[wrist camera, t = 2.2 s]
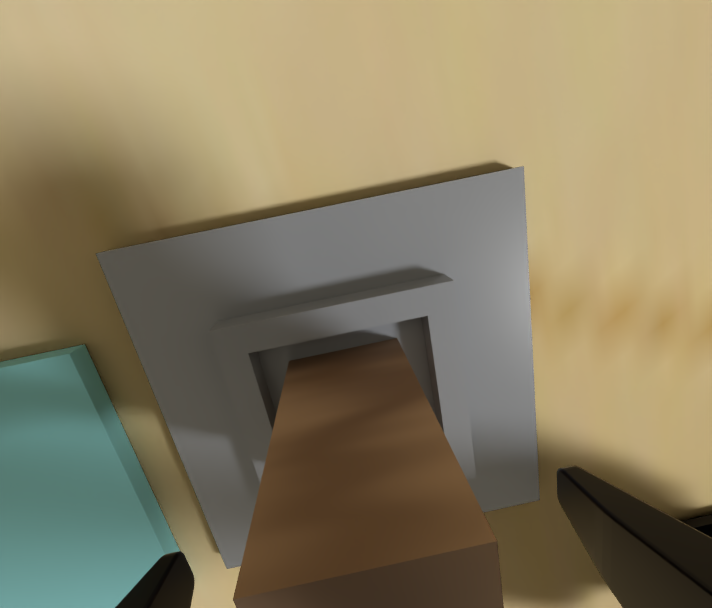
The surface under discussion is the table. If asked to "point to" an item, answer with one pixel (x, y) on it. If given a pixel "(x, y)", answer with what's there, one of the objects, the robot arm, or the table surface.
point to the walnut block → (364, 496)
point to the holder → (340, 329)
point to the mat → (70, 489)
